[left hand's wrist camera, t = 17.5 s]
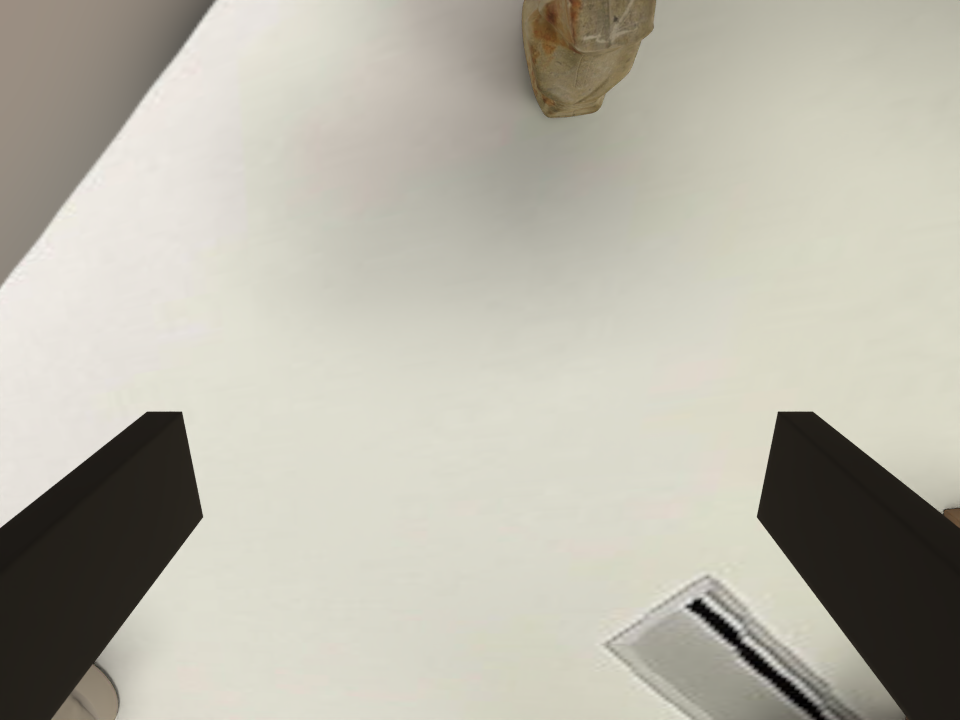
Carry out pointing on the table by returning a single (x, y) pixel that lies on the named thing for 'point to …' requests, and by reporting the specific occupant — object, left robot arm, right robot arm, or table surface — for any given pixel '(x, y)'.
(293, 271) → the table surface
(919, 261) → the table surface
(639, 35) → the sculpture
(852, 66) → the table surface
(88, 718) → the bust sculpture
